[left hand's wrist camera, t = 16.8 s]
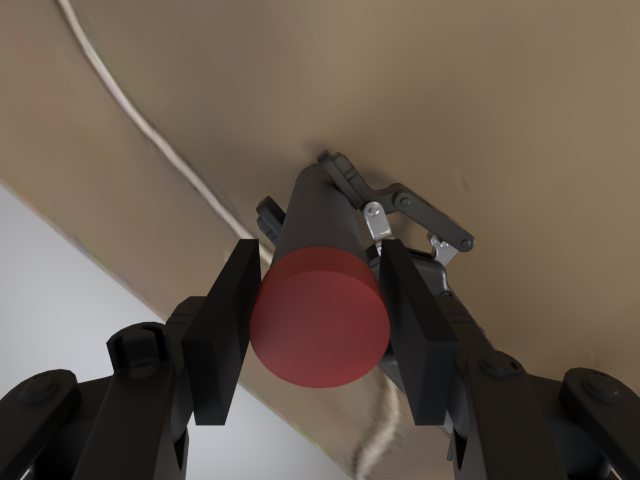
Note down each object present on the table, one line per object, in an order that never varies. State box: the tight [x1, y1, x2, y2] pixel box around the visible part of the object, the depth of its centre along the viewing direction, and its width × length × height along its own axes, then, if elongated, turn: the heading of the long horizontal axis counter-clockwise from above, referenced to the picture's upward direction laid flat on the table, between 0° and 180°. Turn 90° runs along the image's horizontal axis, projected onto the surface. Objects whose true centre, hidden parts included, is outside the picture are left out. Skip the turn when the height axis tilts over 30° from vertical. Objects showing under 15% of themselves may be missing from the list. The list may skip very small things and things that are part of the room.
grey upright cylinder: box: [270, 164, 370, 268], centre depth 19 cm, size 4×4×18 cm
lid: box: [249, 246, 391, 388], centre depth 11 cm, size 4×4×2 cm
